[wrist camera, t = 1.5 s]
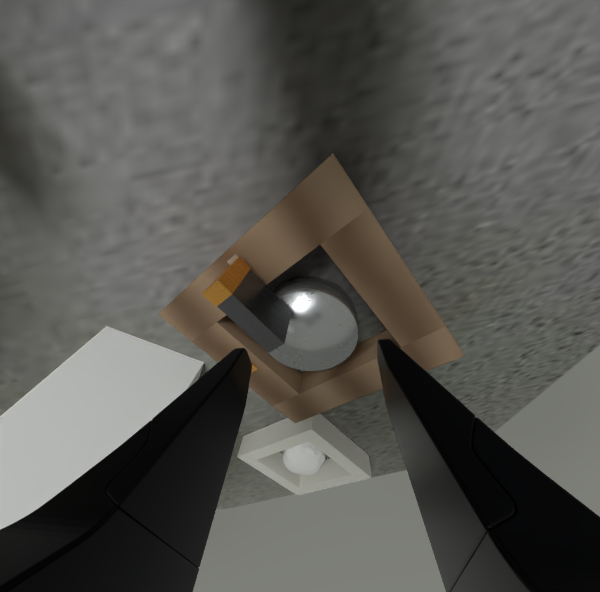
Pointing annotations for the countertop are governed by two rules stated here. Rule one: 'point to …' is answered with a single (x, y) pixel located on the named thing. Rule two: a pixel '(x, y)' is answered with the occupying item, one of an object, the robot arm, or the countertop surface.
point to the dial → (289, 316)
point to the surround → (357, 269)
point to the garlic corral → (286, 434)
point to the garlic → (303, 459)
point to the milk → (84, 415)
